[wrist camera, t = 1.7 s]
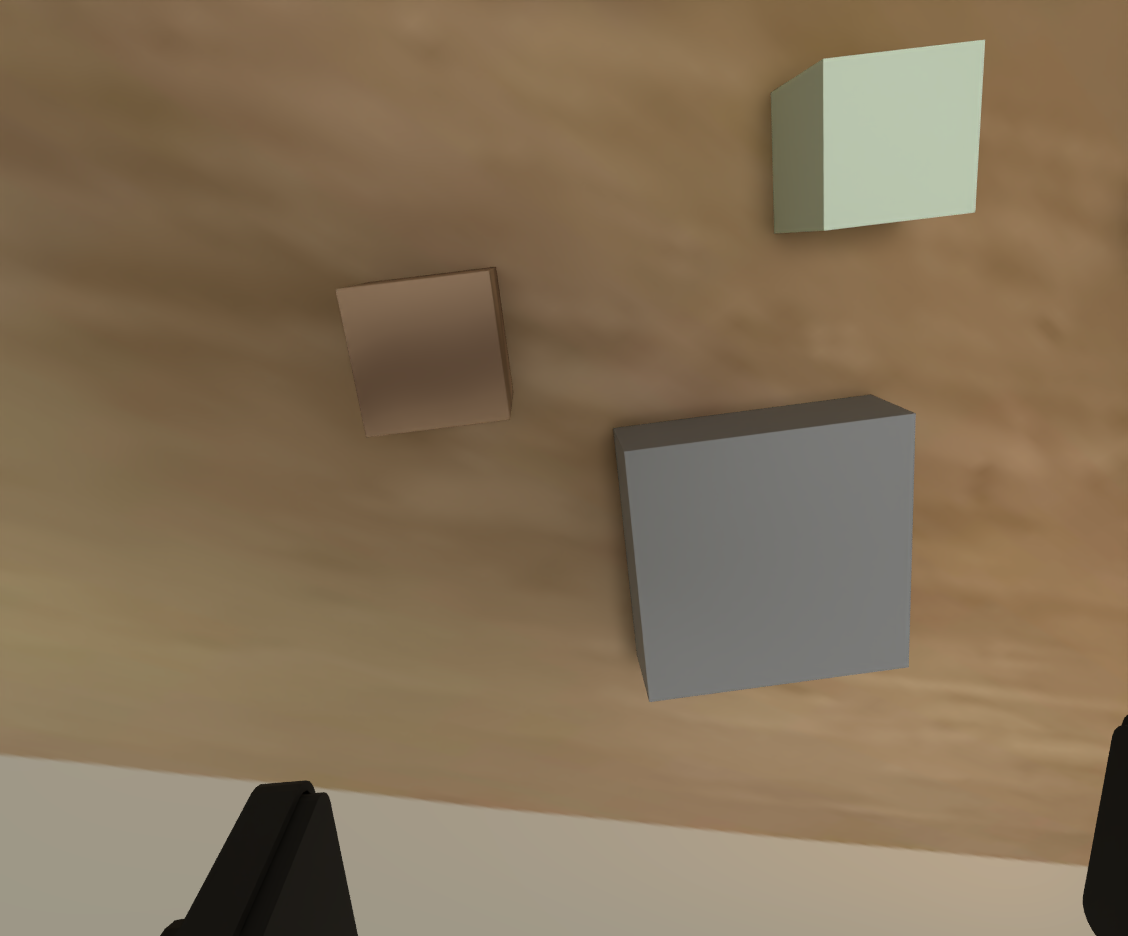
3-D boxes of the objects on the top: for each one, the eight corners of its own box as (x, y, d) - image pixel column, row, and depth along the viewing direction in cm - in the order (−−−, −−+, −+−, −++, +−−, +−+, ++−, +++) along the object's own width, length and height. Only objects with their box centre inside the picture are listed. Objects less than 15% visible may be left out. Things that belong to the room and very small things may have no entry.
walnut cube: (369, 282, 28) (335, 289, 23) (495, 267, 28) (488, 270, 23) (392, 406, 29) (366, 437, 24) (513, 391, 29) (509, 419, 24)
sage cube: (770, 93, 26) (823, 59, 22) (902, 77, 26) (984, 39, 22) (773, 233, 28) (823, 230, 23) (898, 218, 28) (975, 212, 23)
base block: (612, 426, 30) (624, 451, 26) (866, 392, 30) (915, 413, 26) (635, 650, 33) (649, 701, 30) (865, 619, 34) (908, 667, 30)
